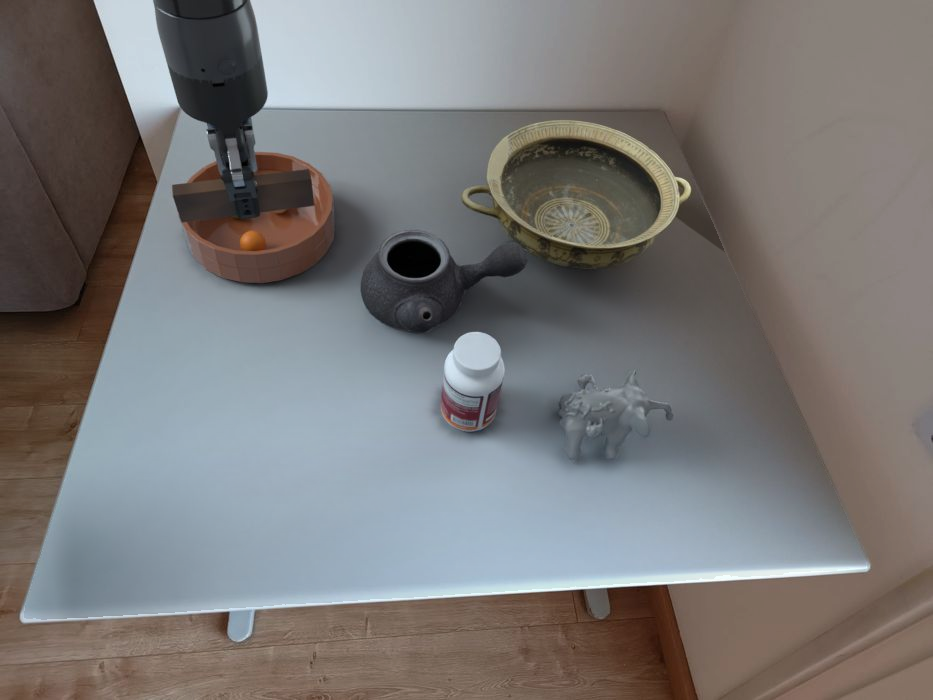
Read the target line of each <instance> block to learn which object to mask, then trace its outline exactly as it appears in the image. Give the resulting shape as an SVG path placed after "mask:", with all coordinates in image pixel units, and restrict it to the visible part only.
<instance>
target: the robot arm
mask: <svg viewBox="0 0 933 700" xmlns="http://www.w3.org/2000/svg"><path fill="white" fill-rule="evenodd" d="M251 1H252V0H152V3H153V6H154V7H153V8H154V15H155V23H156V28H157V33H158V37H159V40H160V44H161V48H162V50H163V55H164V58H165V62H166V65H167V68H168V72H169V73H168V74H169V75H170V80H171V83H172V86H173V90H174V95H175V98H176V101H177V103H178V106H179V108H180V109H181V110H182V111H183V113H184V114H186V115H187V116H189V117H190V118H192V119H194V120H196V121H199V122H202V123H205V124H206V127H207V128H206V136H207V141H208V144H209V148H210V149H211V150H212V151H213V153H214V157H215V161H217V165H218V169H219V173H220V174H221V179H222V181H224V185H225V187H226V190H227V194H228V197H229V198H230V201H234V205H235V209H236V213H237V217H238V218H239V219H248V218H256V217H258V216H259V215H260V210H259V205H258V200H257V194H258V190H257V188H256V186H257V182H256V181H255V180H254V172H256V171H257V162H256V157H255V152H256V151H255V145H256V138H255V131H254V126H253V119H252V117H254V116H255V115H257V114H259V112H261V110H262V109H263V108H264V106H265V105H266V103H267V100H268V96H269V95H268V94H269V90H268V85H267V79H266V73H265V67H264V59H263V55H262V54H263V53H262V47H261V41H260V35H259V29H258V23H257V19H256V14H255V11H254V8H253V5H252V2H251Z"/></svg>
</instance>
